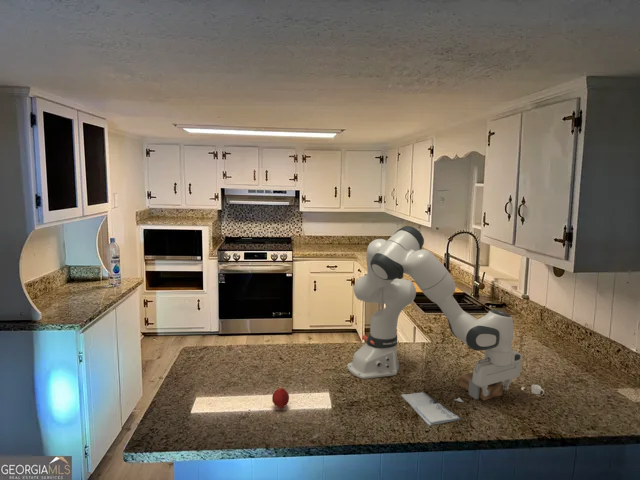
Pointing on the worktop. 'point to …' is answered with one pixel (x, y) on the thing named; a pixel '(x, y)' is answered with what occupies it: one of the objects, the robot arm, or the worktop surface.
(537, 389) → the white ring-shaped piece
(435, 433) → the worktop surface
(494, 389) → the wood grain block
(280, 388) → the onion
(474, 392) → the tunnel
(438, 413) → the bicycle print towel
